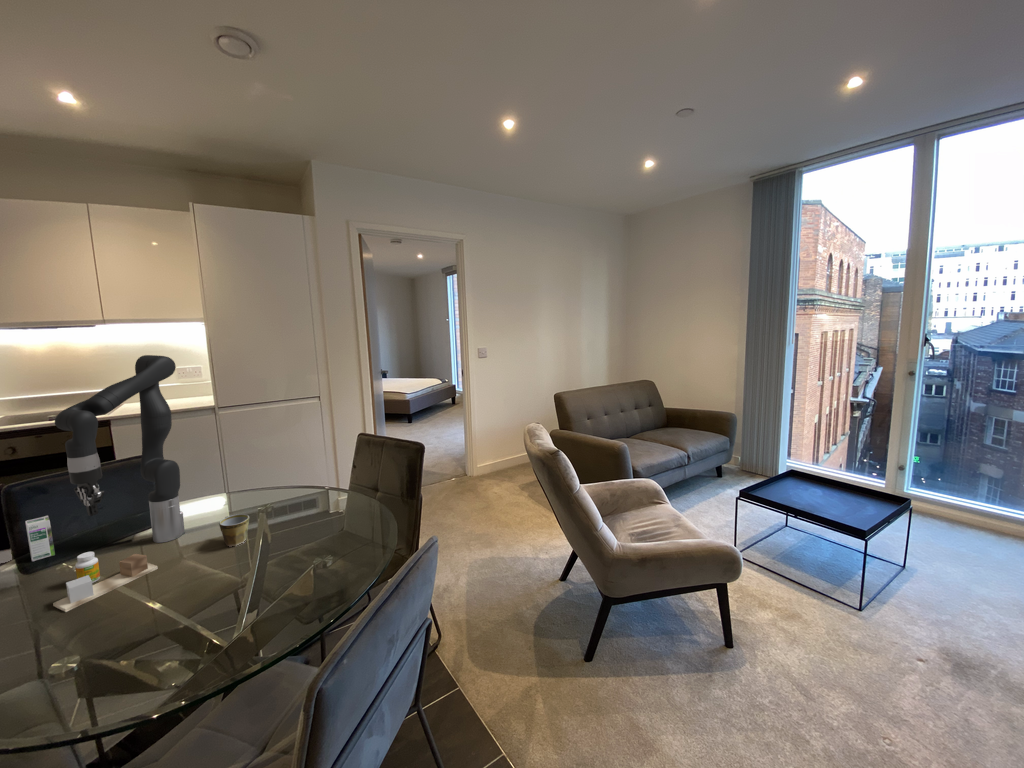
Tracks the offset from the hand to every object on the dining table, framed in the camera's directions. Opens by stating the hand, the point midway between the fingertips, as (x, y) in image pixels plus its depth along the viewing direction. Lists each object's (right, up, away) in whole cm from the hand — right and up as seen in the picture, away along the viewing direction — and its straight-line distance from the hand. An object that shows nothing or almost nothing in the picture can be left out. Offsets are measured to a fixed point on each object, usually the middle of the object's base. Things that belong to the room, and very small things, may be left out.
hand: (93, 514), depth 139 cm
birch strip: (+10, -23, -4) cm, 25 cm away
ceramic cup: (+32, -19, +25) cm, 45 cm away
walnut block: (+13, -21, +2) cm, 24 cm away
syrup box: (-31, -20, +12) cm, 39 cm away
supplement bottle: (+1, -22, -2) cm, 22 cm away
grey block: (+8, -23, -11) cm, 26 cm away
